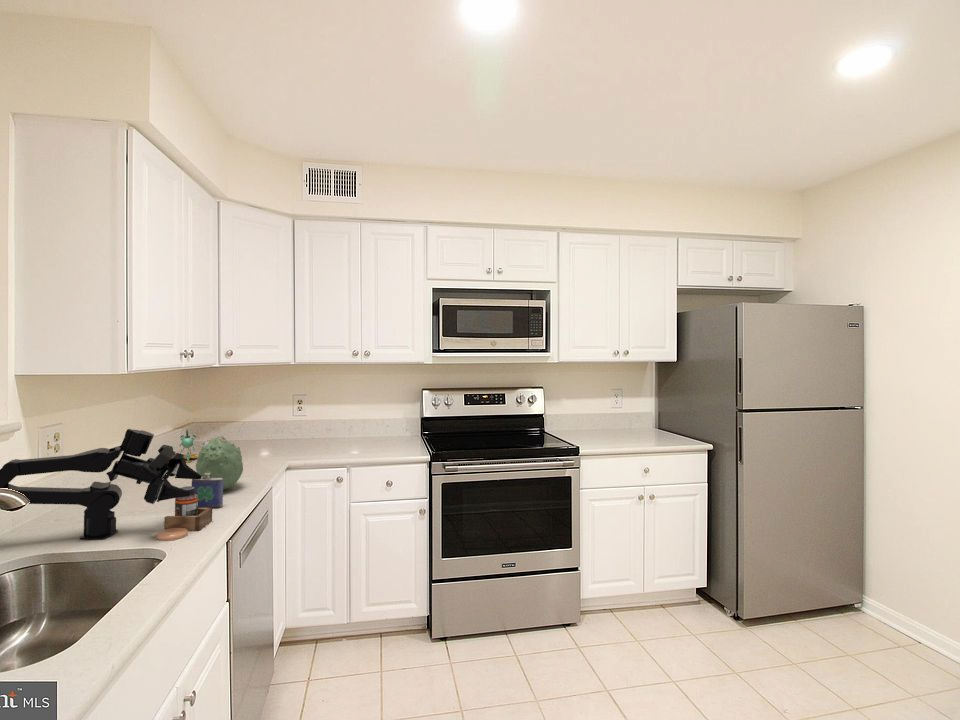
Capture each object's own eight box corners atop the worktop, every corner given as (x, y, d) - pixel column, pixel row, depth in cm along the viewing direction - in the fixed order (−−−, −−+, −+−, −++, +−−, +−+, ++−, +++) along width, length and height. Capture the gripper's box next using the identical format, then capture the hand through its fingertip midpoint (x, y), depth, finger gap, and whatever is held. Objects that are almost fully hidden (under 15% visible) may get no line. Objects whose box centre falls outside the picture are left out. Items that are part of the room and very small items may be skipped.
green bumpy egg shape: (247, 483, 205) (248, 432, 204) (236, 496, 186) (237, 440, 186) (203, 484, 201) (204, 432, 201) (188, 498, 183) (189, 441, 182)
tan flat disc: (150, 540, 143) (150, 537, 143) (164, 531, 150) (164, 527, 150) (179, 540, 144) (179, 537, 143) (192, 531, 151) (192, 527, 151)
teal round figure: (169, 464, 233) (170, 430, 234) (179, 460, 250) (180, 429, 251) (193, 463, 236) (194, 430, 237) (202, 459, 253) (202, 428, 254)
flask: (224, 506, 175) (224, 471, 175) (220, 509, 172) (220, 474, 172) (193, 506, 174) (193, 471, 174) (188, 509, 171) (189, 473, 171)
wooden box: (164, 530, 151) (164, 517, 150) (179, 520, 159) (179, 507, 159) (199, 530, 151) (199, 517, 151) (212, 520, 160) (212, 507, 160)
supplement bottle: (171, 525, 155) (172, 487, 155) (193, 521, 160) (194, 484, 159) (177, 530, 151) (178, 491, 151) (200, 526, 155) (200, 488, 155)
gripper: (131, 461, 139) (192, 479, 143) (160, 431, 156) (214, 447, 160) (119, 496, 141) (180, 512, 145) (149, 462, 158) (203, 477, 163)
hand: (195, 485), depth 153 cm, fingers open, 9 cm apart
